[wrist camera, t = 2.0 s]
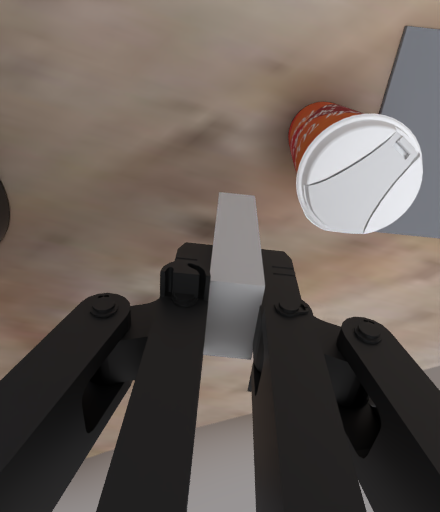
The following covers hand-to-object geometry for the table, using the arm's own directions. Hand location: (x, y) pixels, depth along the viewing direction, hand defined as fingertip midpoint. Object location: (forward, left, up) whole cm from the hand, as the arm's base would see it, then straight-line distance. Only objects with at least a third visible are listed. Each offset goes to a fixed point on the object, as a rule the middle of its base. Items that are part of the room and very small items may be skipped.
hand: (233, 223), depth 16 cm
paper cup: (+8, 0, -21) cm, 23 cm away
